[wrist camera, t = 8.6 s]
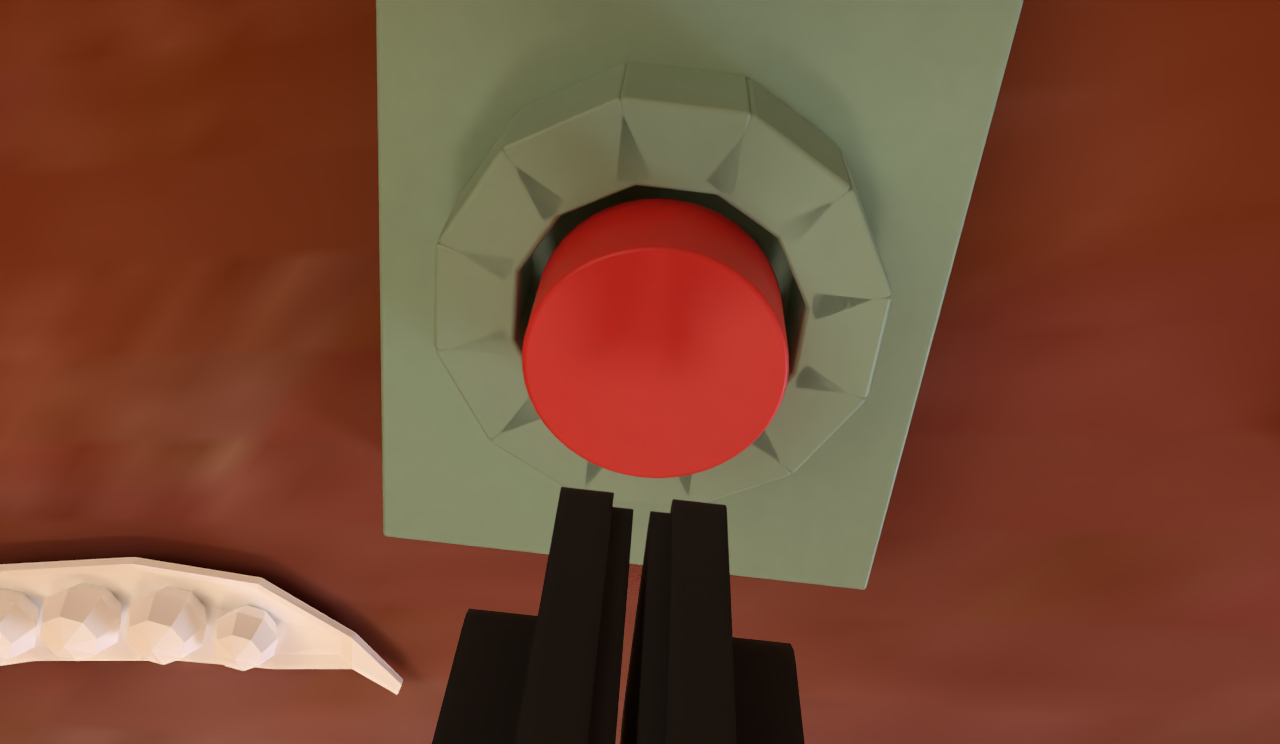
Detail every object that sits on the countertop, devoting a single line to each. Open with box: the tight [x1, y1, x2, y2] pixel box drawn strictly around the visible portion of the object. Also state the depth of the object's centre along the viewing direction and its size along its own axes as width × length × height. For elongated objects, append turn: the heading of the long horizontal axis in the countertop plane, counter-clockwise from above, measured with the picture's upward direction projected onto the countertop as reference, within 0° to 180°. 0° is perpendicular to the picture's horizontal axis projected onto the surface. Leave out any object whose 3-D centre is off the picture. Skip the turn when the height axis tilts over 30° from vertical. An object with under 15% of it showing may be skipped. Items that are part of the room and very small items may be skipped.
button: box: [522, 198, 789, 478], centre depth 16 cm, size 4×4×2 cm
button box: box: [376, 0, 1024, 590], centre depth 18 cm, size 12×9×4 cm
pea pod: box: [0, 557, 403, 695], centre depth 25 cm, size 15×4×2 cm, turn 93°
